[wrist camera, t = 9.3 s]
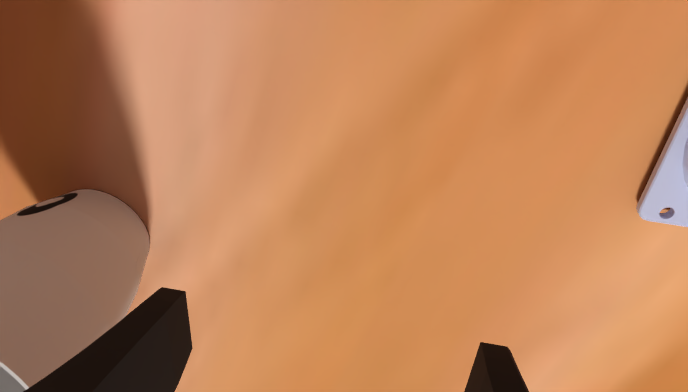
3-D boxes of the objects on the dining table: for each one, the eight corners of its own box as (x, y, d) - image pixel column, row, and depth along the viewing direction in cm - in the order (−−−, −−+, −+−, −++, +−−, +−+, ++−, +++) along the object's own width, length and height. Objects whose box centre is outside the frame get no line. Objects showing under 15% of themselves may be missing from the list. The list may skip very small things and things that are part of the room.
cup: (71, 129, 23) (-143, 270, 15) (208, 241, 25) (89, 419, 17) (7, 221, 27) (-190, 373, 19) (131, 311, 29) (3, 484, 21)
